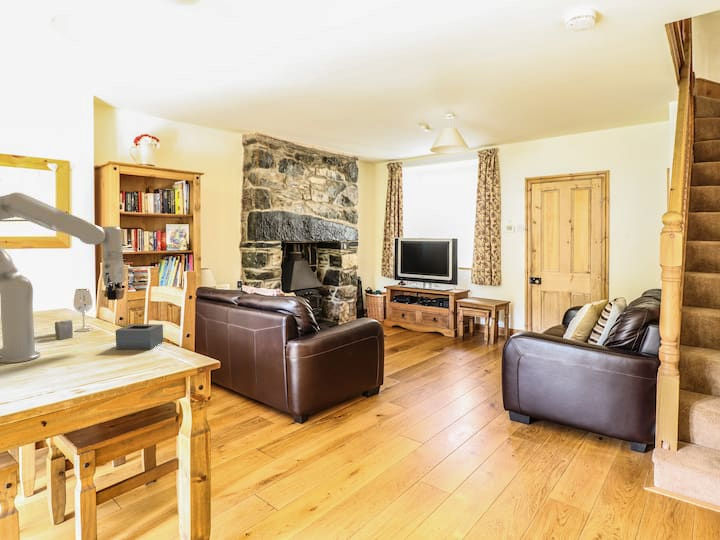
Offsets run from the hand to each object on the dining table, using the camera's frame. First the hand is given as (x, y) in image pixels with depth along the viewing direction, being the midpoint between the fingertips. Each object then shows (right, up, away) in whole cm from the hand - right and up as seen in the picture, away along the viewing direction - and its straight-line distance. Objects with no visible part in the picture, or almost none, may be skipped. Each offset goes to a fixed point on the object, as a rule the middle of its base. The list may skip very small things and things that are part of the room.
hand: (114, 298), depth 192 cm
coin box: (+12, -20, -2) cm, 23 cm away
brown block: (-1, 0, 0) cm, 1 cm away
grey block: (-30, -19, +12) cm, 37 cm away
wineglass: (-30, -17, +28) cm, 45 cm away
